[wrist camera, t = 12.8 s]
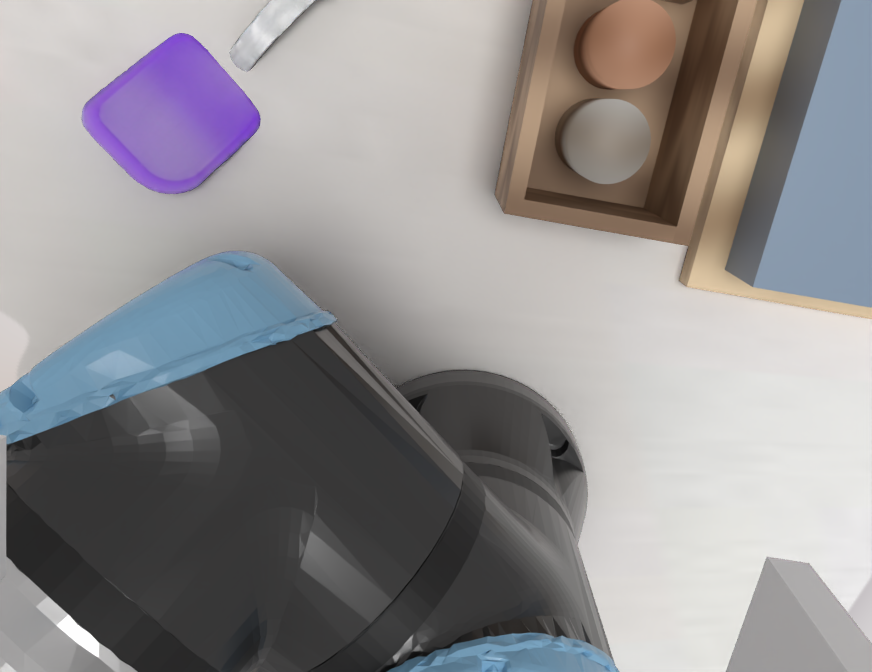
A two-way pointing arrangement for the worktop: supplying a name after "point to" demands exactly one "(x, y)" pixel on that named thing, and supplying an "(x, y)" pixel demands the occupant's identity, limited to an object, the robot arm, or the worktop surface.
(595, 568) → the worktop surface
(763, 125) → the oak cutting board
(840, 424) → the worktop surface
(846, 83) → the slate lid
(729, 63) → the walnut spice box
